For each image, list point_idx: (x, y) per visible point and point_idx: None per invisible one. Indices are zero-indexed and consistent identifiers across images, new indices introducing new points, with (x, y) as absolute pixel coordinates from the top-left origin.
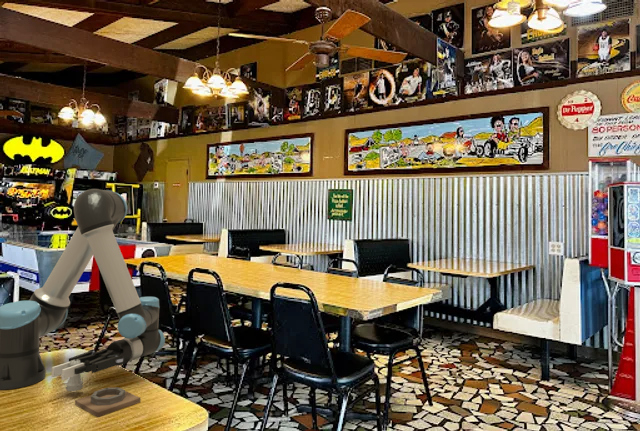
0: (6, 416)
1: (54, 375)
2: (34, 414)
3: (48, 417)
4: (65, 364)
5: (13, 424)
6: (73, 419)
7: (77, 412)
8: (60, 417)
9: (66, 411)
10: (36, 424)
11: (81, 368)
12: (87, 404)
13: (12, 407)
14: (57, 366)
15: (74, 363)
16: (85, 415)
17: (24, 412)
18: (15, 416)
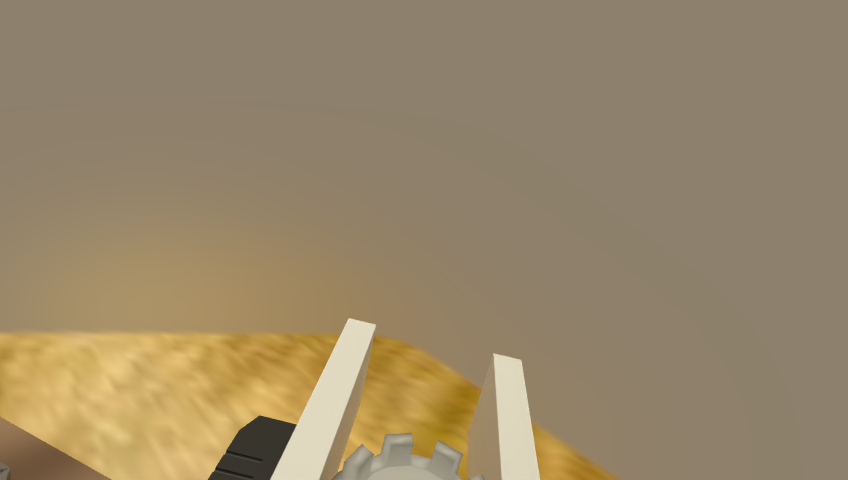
0: (471, 384)
1: (473, 428)
2: (365, 405)
3: (267, 386)
4: (497, 461)
5: (375, 338)
6: (105, 375)
7: (109, 443)
8: (198, 388)
9: (199, 448)
10: (279, 339)
11: (220, 463)
12: (37, 466)
13: (550, 458)
14: (494, 378)
15: (382, 468)
16: (33, 415)
17: (434, 418)
18: (434, 386)
